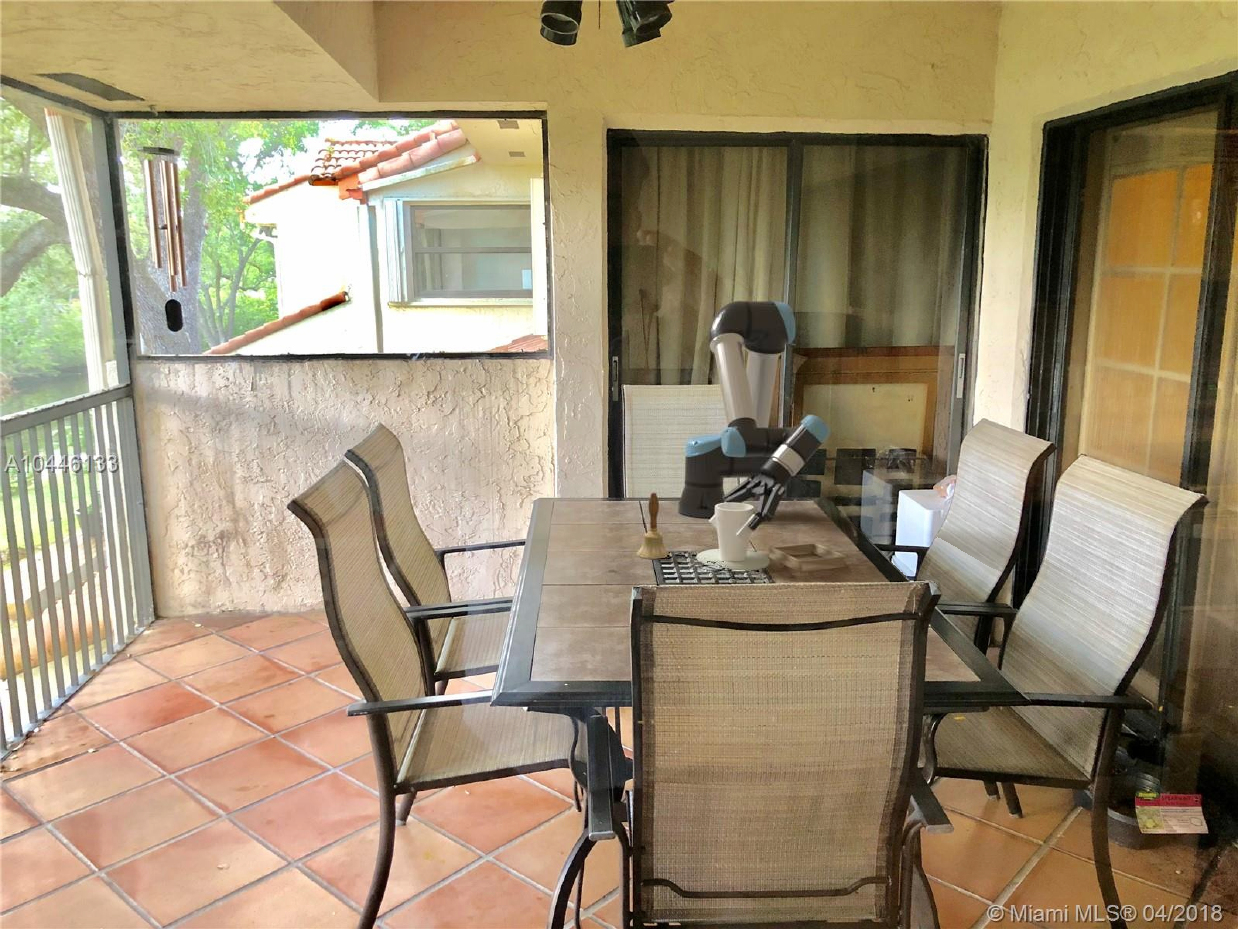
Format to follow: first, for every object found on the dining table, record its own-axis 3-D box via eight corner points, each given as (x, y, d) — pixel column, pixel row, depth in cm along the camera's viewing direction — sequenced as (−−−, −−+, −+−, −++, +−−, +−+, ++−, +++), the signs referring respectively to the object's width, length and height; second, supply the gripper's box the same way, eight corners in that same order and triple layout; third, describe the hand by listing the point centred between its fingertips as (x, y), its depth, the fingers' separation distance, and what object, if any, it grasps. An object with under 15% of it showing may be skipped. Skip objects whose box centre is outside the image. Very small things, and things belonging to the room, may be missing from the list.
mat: (681, 559, 225) (681, 556, 225) (729, 546, 236) (729, 544, 236) (736, 576, 211) (736, 573, 211) (784, 562, 223) (784, 560, 223)
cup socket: (768, 556, 228) (769, 547, 227) (814, 551, 233) (814, 542, 233) (799, 572, 216) (799, 562, 215) (846, 566, 221) (847, 556, 220)
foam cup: (750, 564, 219) (752, 511, 216) (712, 562, 220) (713, 509, 218) (752, 553, 228) (754, 503, 226) (716, 551, 230) (717, 501, 227)
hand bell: (659, 561, 222) (661, 498, 219) (630, 556, 226) (631, 493, 224) (675, 554, 229) (677, 492, 226) (647, 548, 233) (648, 488, 231)
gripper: (819, 487, 215) (761, 554, 212) (763, 468, 237) (710, 528, 234) (801, 466, 212) (742, 534, 209) (746, 449, 234) (693, 510, 231)
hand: (725, 531), depth 222 cm, fingers open, 13 cm apart
